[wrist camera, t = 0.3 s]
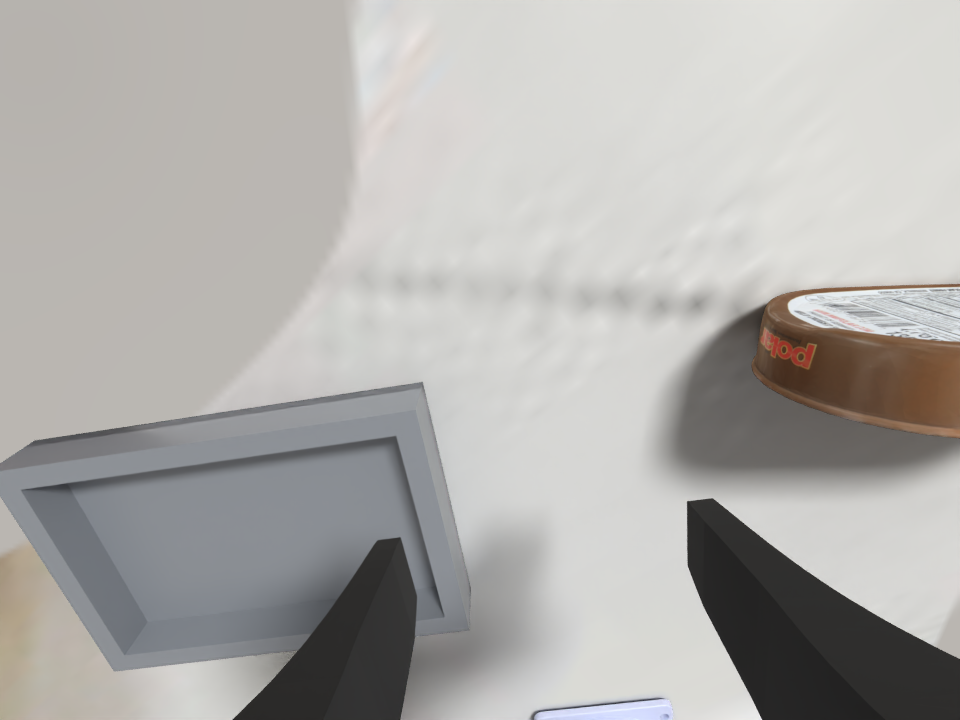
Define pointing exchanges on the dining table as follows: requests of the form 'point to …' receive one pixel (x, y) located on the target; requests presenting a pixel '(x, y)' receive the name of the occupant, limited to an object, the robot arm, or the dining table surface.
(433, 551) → the tray
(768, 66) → the dining table surface
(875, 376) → the tin
